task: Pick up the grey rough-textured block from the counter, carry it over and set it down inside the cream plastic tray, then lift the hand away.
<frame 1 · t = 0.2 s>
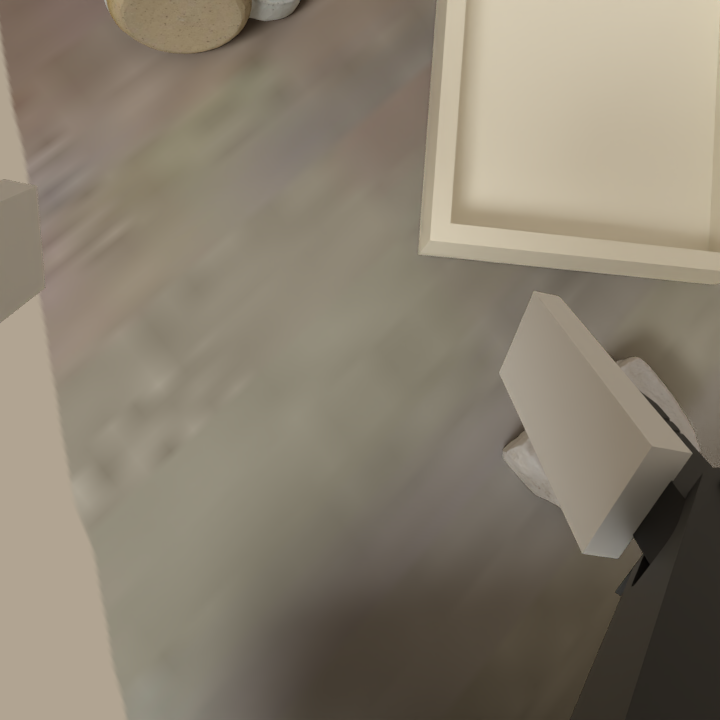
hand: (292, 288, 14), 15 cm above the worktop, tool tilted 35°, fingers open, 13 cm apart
tray: (580, 87, 31), on the worktop
grey rough-textured block: (585, 438, 31), on the worktop
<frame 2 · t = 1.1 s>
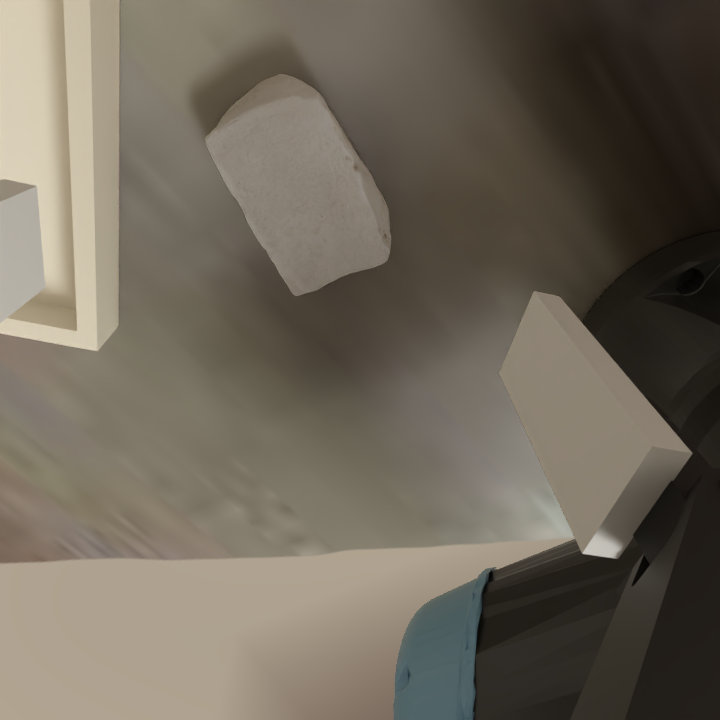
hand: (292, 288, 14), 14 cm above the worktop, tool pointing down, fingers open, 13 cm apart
grey rough-textured block: (308, 180, 27), on the worktop
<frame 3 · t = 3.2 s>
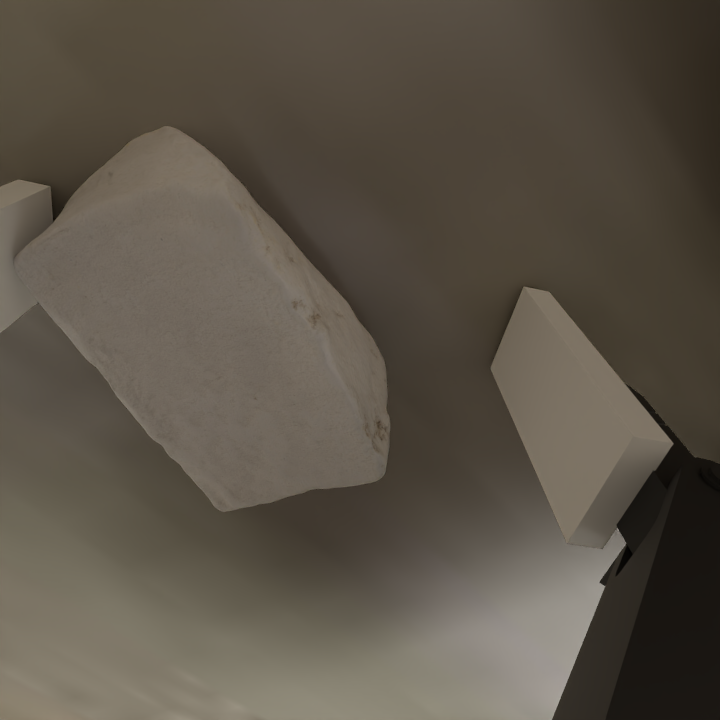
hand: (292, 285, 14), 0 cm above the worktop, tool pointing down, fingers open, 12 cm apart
grey rough-textured block: (241, 303, 15), on the worktop
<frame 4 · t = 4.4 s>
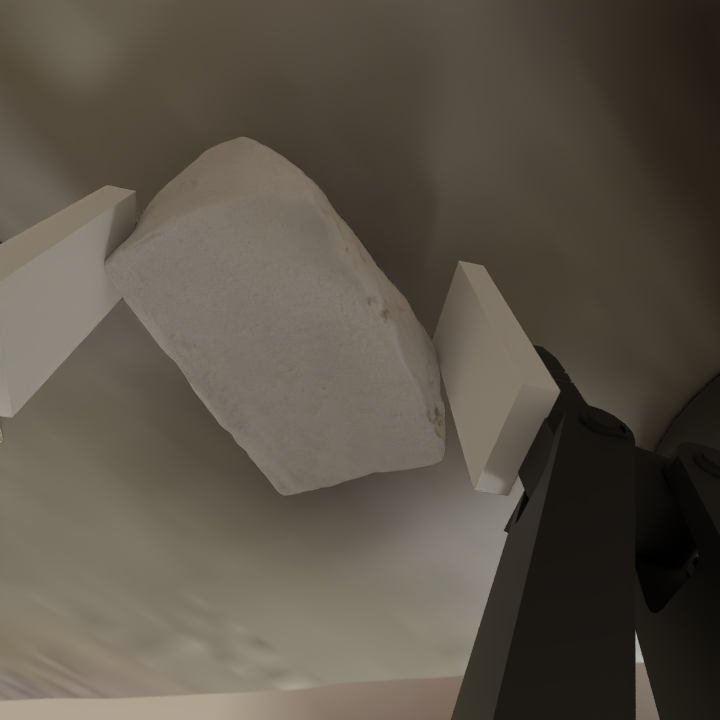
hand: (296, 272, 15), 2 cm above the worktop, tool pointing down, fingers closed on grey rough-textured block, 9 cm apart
grey rough-textured block: (299, 300, 16), point 2 cm above the worktop, touching gripper
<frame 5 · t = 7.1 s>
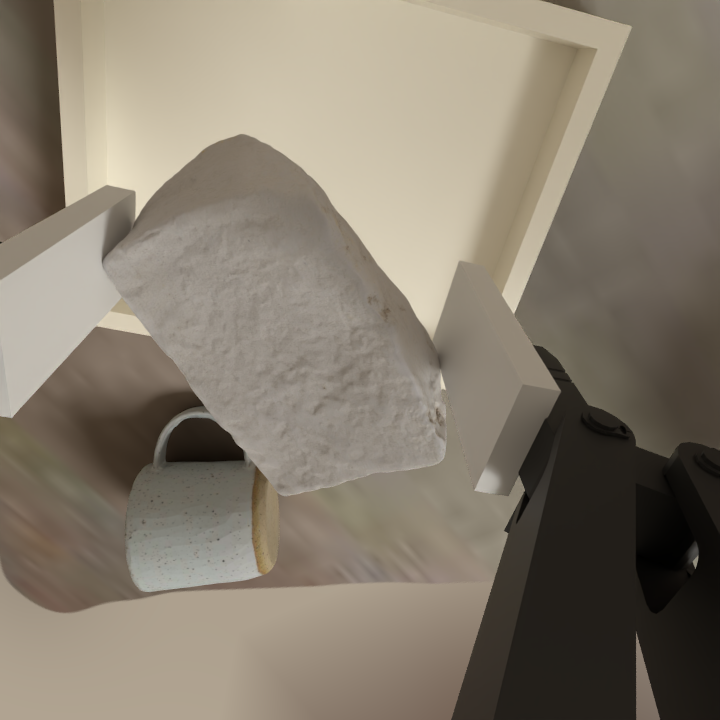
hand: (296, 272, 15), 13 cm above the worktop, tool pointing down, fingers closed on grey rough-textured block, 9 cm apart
tray: (319, 179, 26), on the worktop
grey rough-textured block: (298, 299, 16), point 12 cm above the worktop, touching gripper
ceramic mug: (214, 463, 36), on the worktop
when the fingers open (1 cm above the worktop, at t = 9.9 s): grey rough-textured block stays where it is, resting on tray.
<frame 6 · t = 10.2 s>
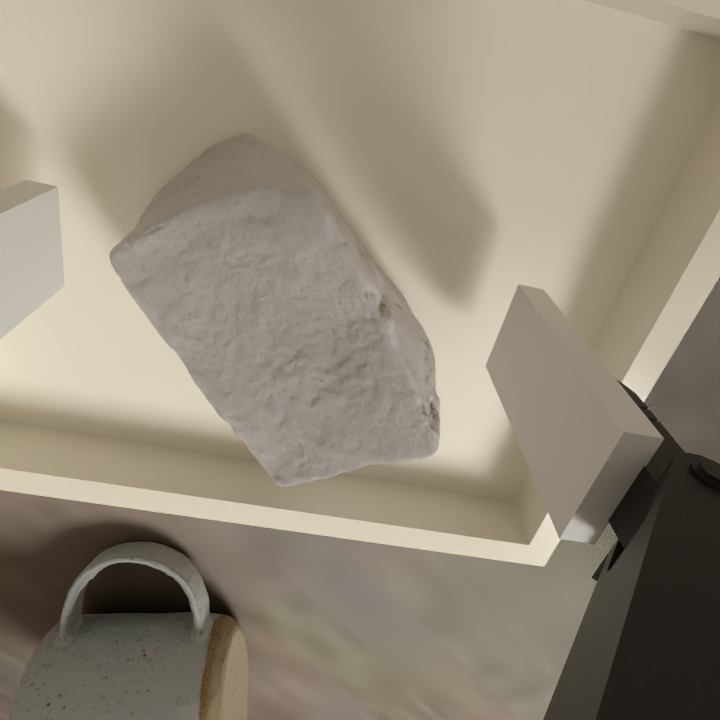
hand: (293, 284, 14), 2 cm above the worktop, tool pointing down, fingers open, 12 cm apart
tray: (300, 254, 17), on the worktop
grey rough-textured block: (298, 295, 17), point 1 cm above the worktop, touching tray
ceramic mug: (159, 606, 26), on the worktop
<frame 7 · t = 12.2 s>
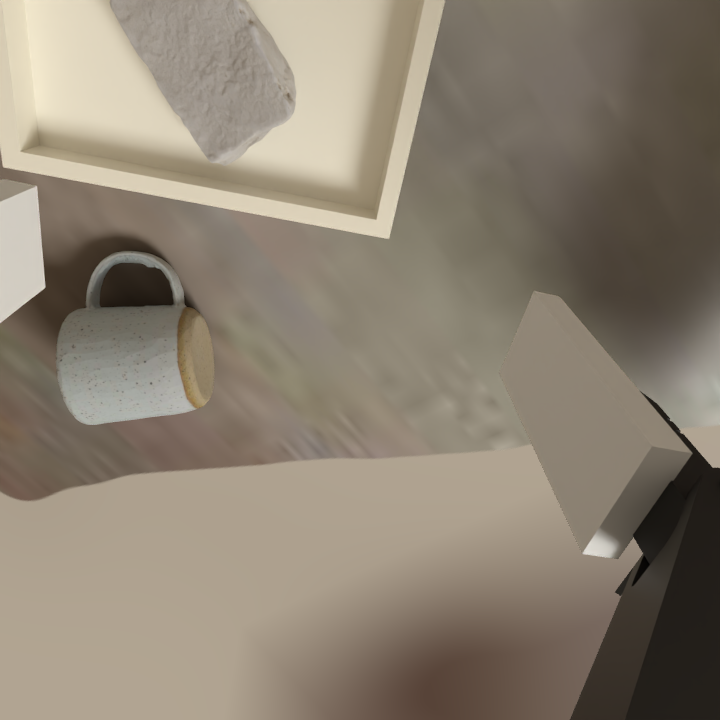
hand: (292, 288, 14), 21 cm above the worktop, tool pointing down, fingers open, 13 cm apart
tray: (225, 26, 29), on the worktop
grey rough-textured block: (218, 53, 29), point 1 cm above the worktop, touching tray
ceramic mug: (151, 318, 38), on the worktop
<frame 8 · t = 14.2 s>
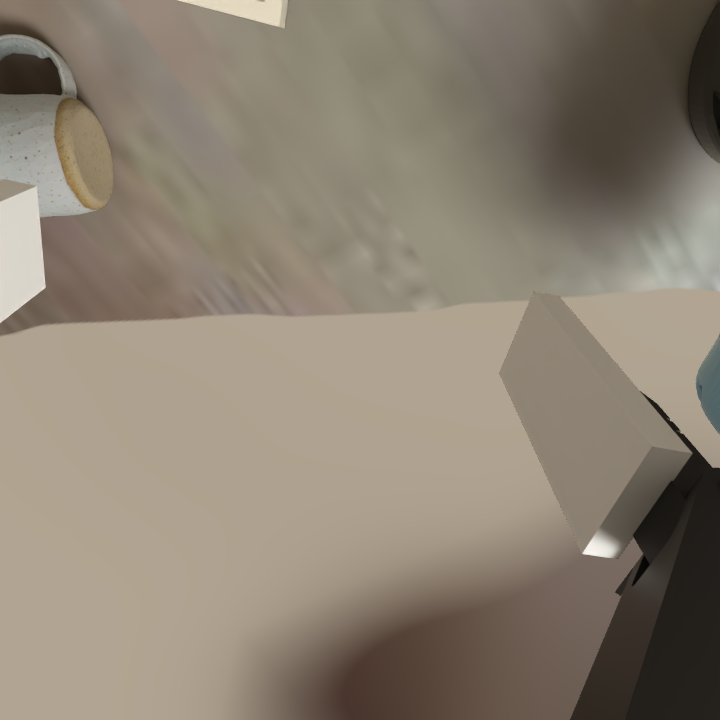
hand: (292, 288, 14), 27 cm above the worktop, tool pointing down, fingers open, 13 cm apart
ceramic mug: (49, 127, 37), on the worktop
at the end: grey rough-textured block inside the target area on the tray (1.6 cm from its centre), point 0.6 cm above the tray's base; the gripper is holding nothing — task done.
